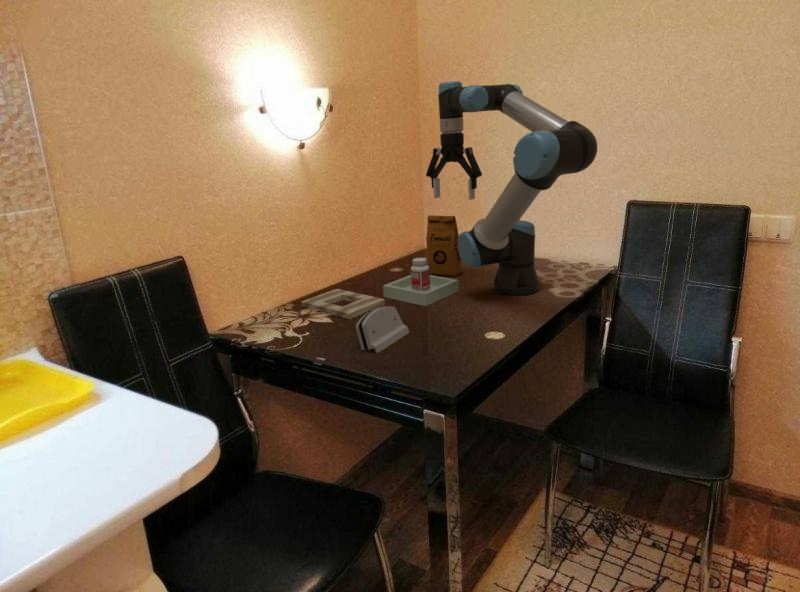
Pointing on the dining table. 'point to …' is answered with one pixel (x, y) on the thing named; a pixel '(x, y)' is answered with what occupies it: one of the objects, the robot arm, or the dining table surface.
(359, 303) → the socket block
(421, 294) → the tray
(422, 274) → the pill bottle
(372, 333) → the napkin holder
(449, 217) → the coffee package
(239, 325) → the dining table surface
